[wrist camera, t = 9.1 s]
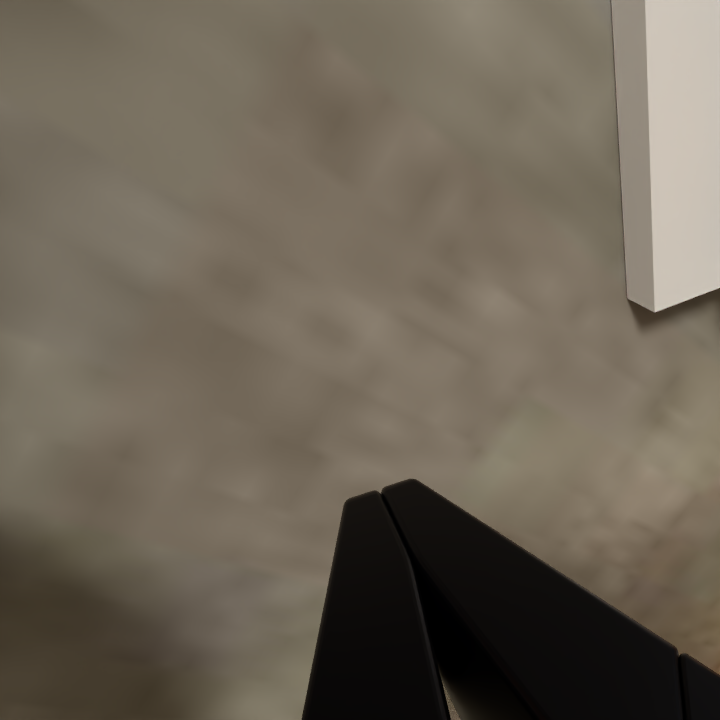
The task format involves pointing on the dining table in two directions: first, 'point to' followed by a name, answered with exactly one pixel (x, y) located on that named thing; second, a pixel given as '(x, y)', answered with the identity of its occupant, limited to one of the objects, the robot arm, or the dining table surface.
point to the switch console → (669, 146)
